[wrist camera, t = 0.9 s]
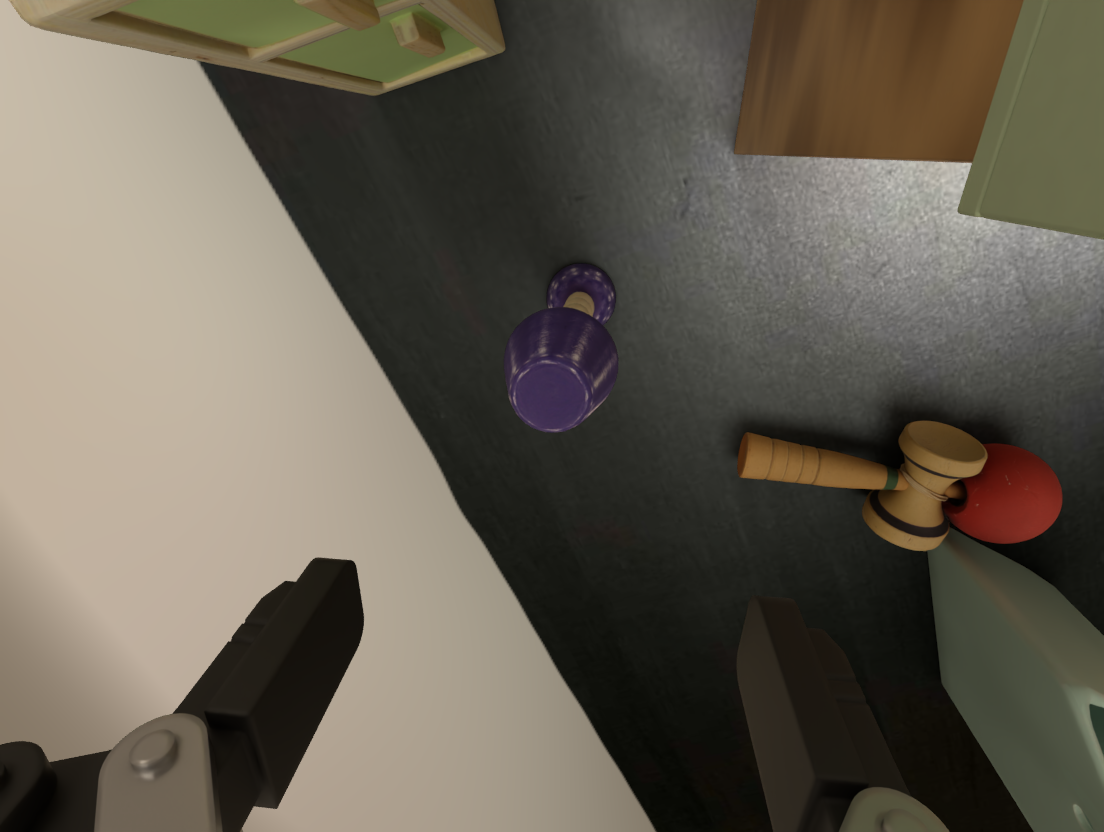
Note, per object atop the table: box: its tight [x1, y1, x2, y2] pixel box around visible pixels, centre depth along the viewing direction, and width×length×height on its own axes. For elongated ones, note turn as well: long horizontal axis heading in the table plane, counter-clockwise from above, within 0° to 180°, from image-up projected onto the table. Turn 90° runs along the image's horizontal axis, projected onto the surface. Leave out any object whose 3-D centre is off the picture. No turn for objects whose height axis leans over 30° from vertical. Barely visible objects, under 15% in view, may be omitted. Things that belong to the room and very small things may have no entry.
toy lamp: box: [504, 263, 618, 432], centre depth 27 cm, size 5×5×17 cm
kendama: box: [737, 421, 1062, 551], centre depth 36 cm, size 8×6×18 cm
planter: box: [927, 527, 1104, 832], centre depth 33 cm, size 16×8×20 cm, turn 19°
